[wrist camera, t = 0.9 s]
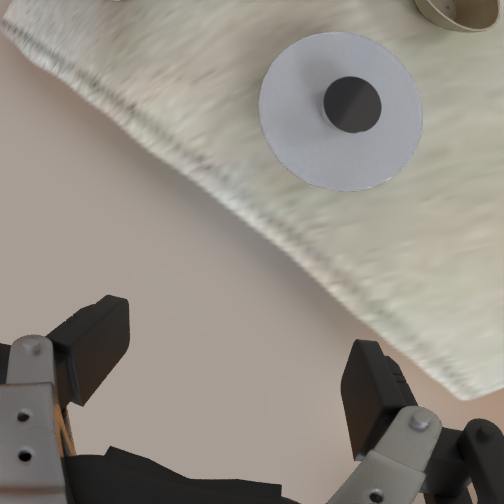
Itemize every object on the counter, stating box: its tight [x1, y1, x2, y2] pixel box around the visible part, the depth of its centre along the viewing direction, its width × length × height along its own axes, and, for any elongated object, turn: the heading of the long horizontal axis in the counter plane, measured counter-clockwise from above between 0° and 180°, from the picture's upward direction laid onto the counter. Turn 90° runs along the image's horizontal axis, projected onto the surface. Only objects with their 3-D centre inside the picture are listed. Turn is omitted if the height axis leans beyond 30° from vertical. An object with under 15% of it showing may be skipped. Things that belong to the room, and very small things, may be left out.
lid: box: [258, 32, 423, 192], centre depth 20 cm, size 13×13×6 cm
